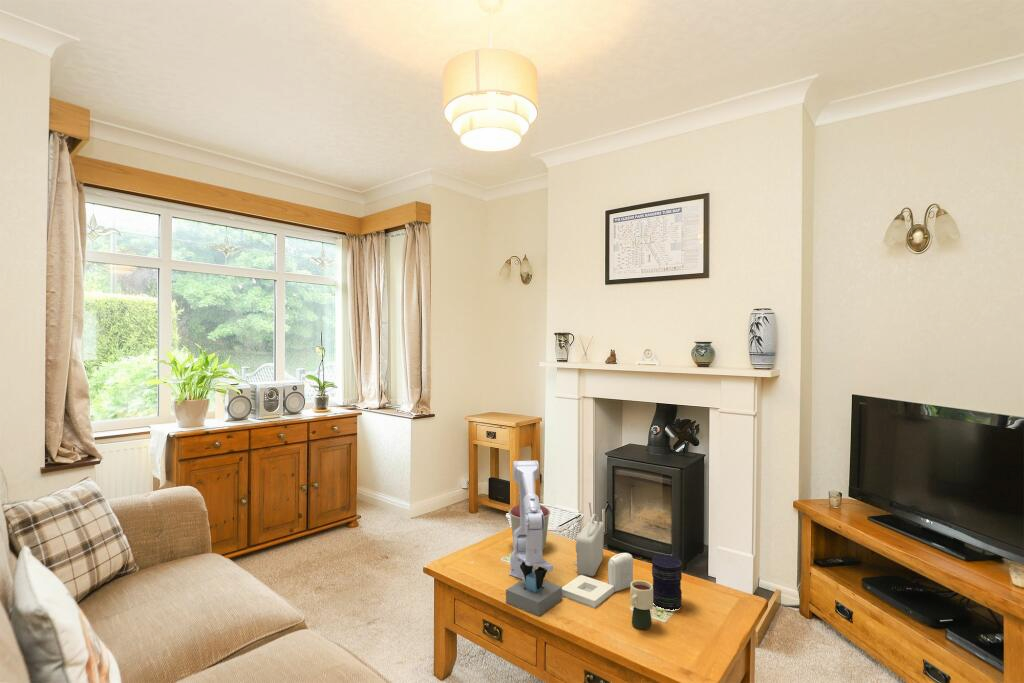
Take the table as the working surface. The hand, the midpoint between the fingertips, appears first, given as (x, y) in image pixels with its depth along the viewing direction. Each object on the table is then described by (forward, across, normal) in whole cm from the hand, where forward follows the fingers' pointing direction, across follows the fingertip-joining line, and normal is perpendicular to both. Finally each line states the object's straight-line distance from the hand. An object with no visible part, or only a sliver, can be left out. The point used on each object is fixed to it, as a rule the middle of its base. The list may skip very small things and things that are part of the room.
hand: (534, 586), depth 181 cm
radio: (+6, +1, +36) cm, 36 cm away
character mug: (+5, +36, +9) cm, 37 cm away
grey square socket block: (+5, 0, 0) cm, 5 cm away
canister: (+5, -28, +35) cm, 45 cm away
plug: (+4, 0, 0) cm, 4 cm away
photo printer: (+6, +19, +28) cm, 34 cm away
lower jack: (+5, +12, +16) cm, 21 cm away
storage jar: (+5, +37, +27) cm, 46 cm away
